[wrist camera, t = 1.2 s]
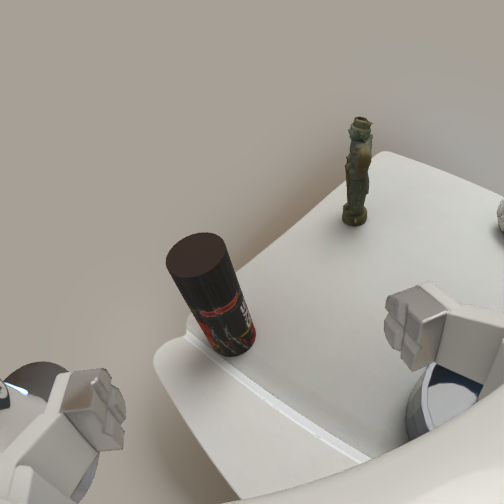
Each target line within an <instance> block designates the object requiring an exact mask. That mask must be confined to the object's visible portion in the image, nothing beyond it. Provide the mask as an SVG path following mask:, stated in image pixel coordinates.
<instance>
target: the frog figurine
mask: <svg viewBox="0 0 504 504" xmlns="http://www.w3.org/2000/svg"><path fill="white" fill-rule="evenodd" d="M497 216H498V224H499V227H500V228H501V230H502V231H503V232H504V200H502V201H501V202H500V205H499V206H498V210H497Z"/></svg>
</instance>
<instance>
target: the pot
mask: <svg viewBox="0 0 504 504" xmlns="http://www.w3.org/2000/svg"><path fill="white" fill-rule="evenodd" d="M483 386H484V385H483V384H480V383H478V382H476V381H474V380H471V379H469V378H467V377H465V376H463V375H460V374H458V373H456V372H454V371H451V370H449V369H447V368H445V367H443V366H440V365H438V364H436V363H435V362H433V363H431V364H429V365H428V366H427V368H426V370H425V371H424V373H423V374H422V376H421V378H420V379H419V381H418V383H417V384H416V386H415V387H414V389H413V392H412V394H411V396H410V399H409V402H408V406H407V411H406V428H407V433H408V437H409V440H410V441H412V440H414V439H416V438H418V437H420V436H422V435H424V434H425V433H427V432H429V431H431V430H433V429H435V428H436V427H438V426H440V425H442V424H443V423H445V422H447V421H448V420H450V419H452V418H453V417H455V416H457V415H458V414H460V413H461V412H463V411H465V410H466V409H468V408H469V407H471V406H472V405H474V404H475V403H477V402H478V397H479V395H480V392H481V390H482V388H483Z"/></svg>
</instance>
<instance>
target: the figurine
mask: <svg viewBox="0 0 504 504" xmlns="http://www.w3.org/2000/svg"><path fill="white" fill-rule="evenodd" d="M371 124H372V123H371V122H369V121H367V119H366V118H364V117H359V116H357V117H356V118H355V119H354V123H352V124H351V128H350V129H349V130H348V131H349V134H350V138H351V140H352V141H351V145H350V154H349V155H348V156H347V157H346V158H347V163H346V165H345V169H346V183H347V201H348V203H346V204H345V205H344V206H343V215H342V219H343V221H344V222H345V223H346V224H348V225H353V226H357V225H362V224H364V223H365V221H366V219H367V210H366V208H365V207H364V202H365V197H366V194H368V192H369V177H368V168H369V165H370V163H371V157H372V156H371V149H372V138H373V135H372V134H370V132H371V129H370V126H371Z"/></svg>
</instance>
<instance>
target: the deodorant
mask: <svg viewBox="0 0 504 504" xmlns="http://www.w3.org/2000/svg"><path fill="white" fill-rule="evenodd" d="M166 266H167V269H168V271H169V273H170V274H171V276H172V278H173V280H174V282H175V283H176V285H177V287H178V289H179V291H180V292H181V294H182V296H183V298H184V300H185V301H186V303H187V305H188V306H189V308H190V310H191V312H192V313H193V315H194V317H195V319H196V320H197V322H198V324H199V325H200V327H201V329H202V330H203V332H204V334H205V335H206V337H207V339H208V340H209V342H210V344H211V345H212V347H213V348H214V350H215V351H216V352H218V353H219V354H221V355H224V356H230V357H231V356H237V355H240V354H243V353H244V352H246V351H247V350H248V349H249V348H250V347H251V346H252V345H253V343H254V341H255V337H256V331H255V328H254V325H253V322H252V319H251V316H250V314H249V311H248V308H247V305H246V303H245V300H244V297H243V294H242V291H241V288H240V286H239V283H238V280H237V277H236V274H235V272H234V269H233V266H232V263H231V260H230V257H229V254H228V251H227V249H226V246H225V243H224V241H223V239H222V238H220V236H218V235H216V234H213V233H197V234H193V235H190V236H187V237H185V238H183V239H182V240H180V241H179V242H178V243H176V244H175V245H174V246H173V247H172V248H171V250H170V251H169V253H168V255H167V258H166Z"/></svg>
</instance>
